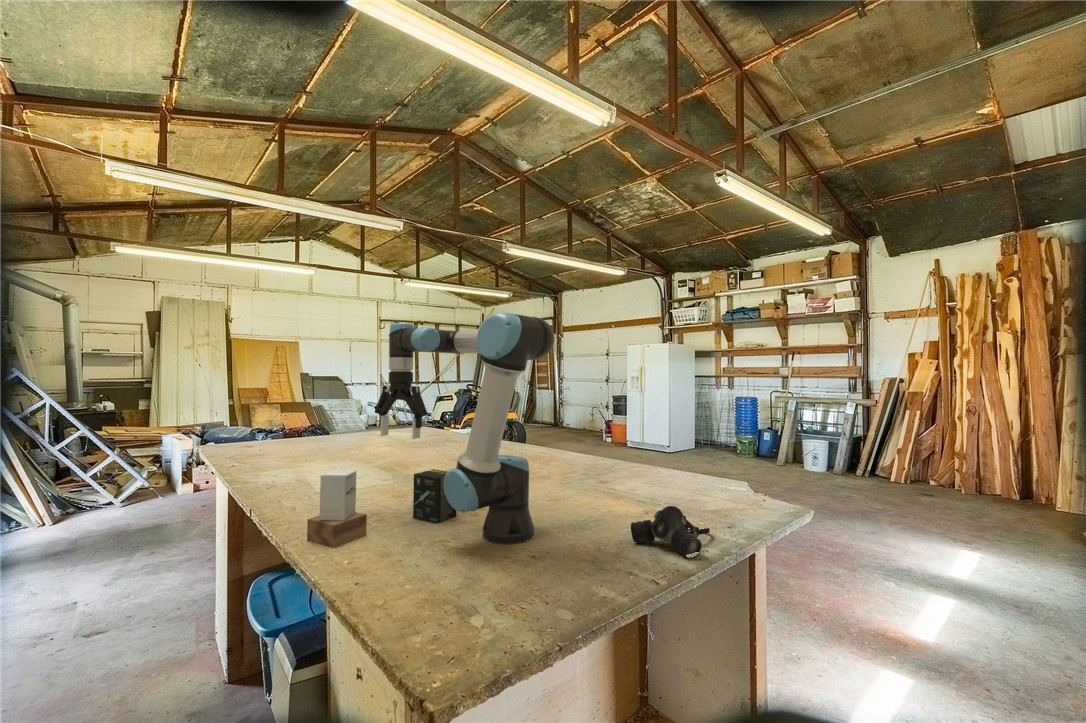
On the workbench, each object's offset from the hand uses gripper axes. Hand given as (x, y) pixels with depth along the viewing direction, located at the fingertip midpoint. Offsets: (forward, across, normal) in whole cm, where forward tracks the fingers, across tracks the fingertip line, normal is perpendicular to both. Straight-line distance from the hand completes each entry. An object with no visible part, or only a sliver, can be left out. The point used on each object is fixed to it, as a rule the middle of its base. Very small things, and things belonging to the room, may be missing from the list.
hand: (400, 436), depth 149 cm
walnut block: (+27, +4, +20) cm, 34 cm away
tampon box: (+27, -8, -8) cm, 29 cm away
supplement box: (+21, +4, +20) cm, 29 cm away
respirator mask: (+27, -83, -24) cm, 91 cm away
